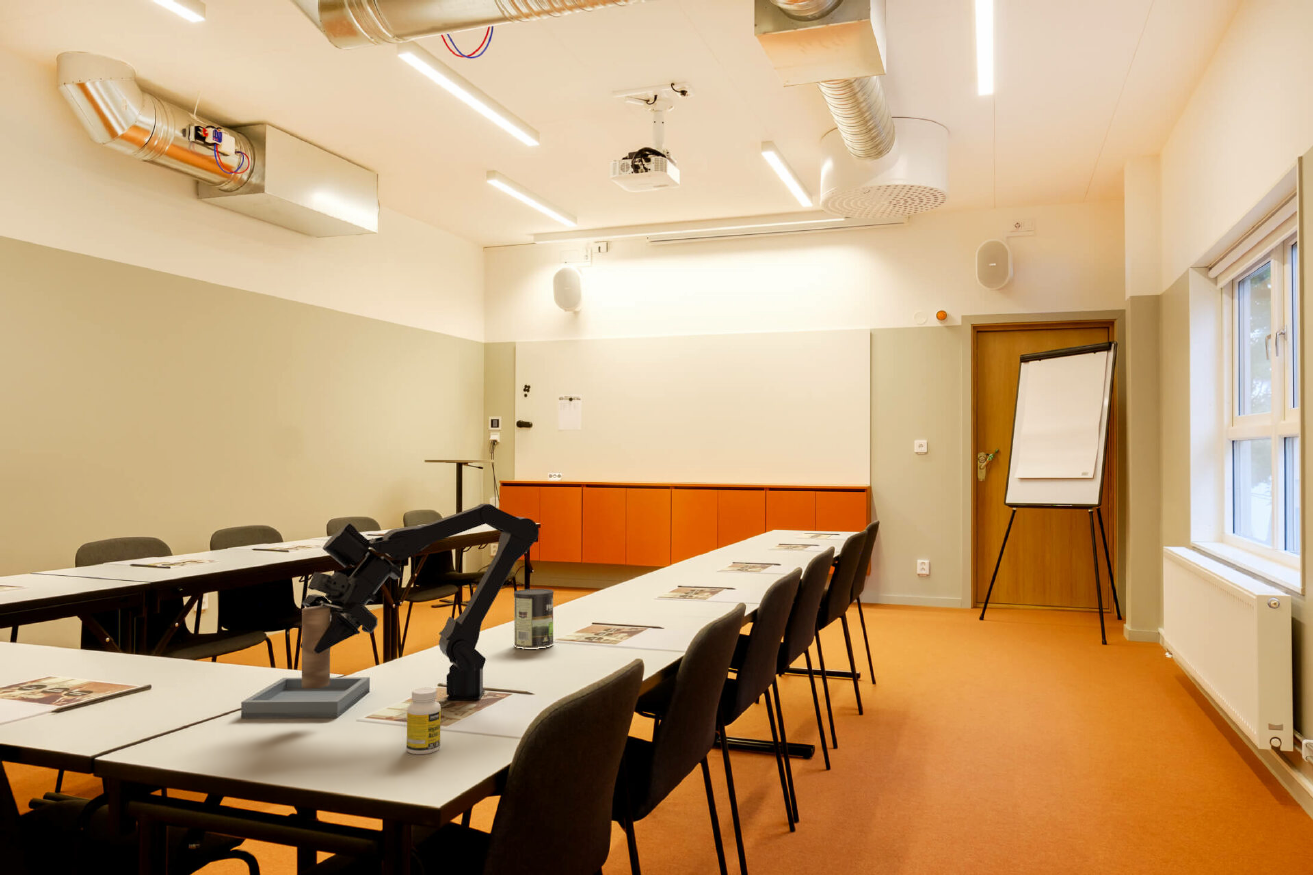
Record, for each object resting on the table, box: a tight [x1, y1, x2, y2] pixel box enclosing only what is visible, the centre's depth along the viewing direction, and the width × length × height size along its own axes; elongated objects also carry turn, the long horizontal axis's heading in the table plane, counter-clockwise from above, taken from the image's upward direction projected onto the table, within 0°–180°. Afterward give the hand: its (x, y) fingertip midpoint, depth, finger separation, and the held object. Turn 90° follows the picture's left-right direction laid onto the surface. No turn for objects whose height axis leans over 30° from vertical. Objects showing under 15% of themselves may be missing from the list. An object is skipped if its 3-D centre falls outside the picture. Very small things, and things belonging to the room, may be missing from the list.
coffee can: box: [513, 588, 555, 648], centre depth 221 cm, size 10×10×14 cm
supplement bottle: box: [406, 687, 442, 755], centre depth 141 cm, size 5×5×10 cm
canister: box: [301, 606, 331, 689], centre depth 156 cm, size 5×5×14 cm
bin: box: [240, 676, 371, 719], centre depth 168 cm, size 18×18×3 cm
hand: (308, 650), depth 155 cm, fingers closed on canister, 5 cm apart
